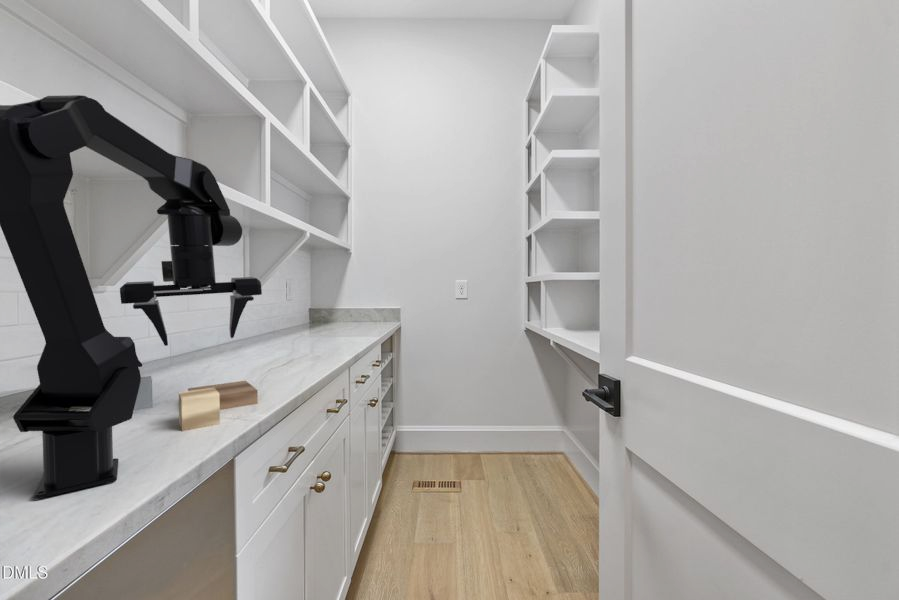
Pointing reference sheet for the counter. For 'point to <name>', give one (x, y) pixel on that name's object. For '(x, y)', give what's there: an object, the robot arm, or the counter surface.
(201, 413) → the maple cube
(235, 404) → the walnut block
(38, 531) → the counter surface
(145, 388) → the slate cube
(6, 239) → the robot arm
